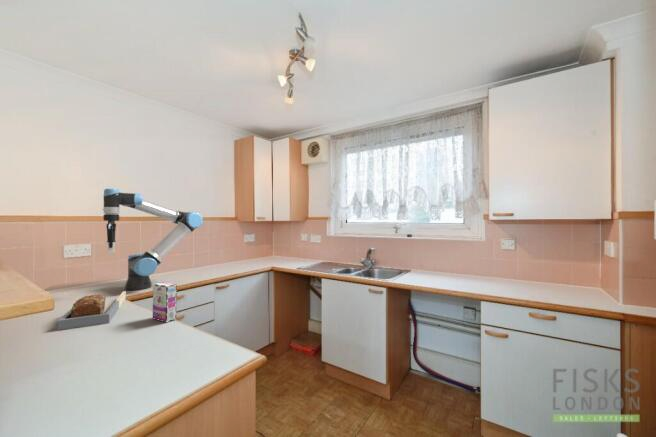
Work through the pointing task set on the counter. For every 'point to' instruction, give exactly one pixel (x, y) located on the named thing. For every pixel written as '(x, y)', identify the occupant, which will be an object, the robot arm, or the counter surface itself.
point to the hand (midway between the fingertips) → (111, 253)
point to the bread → (88, 306)
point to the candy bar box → (164, 301)
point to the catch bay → (69, 322)
